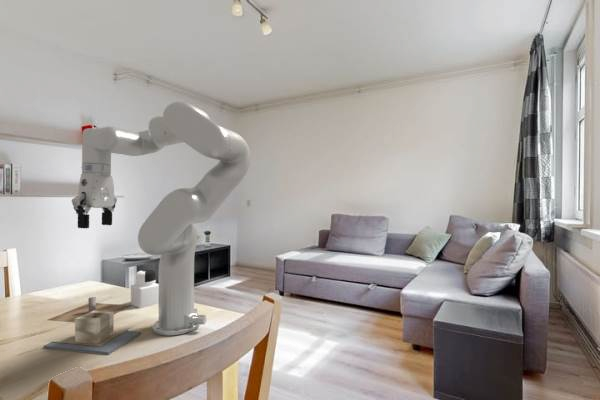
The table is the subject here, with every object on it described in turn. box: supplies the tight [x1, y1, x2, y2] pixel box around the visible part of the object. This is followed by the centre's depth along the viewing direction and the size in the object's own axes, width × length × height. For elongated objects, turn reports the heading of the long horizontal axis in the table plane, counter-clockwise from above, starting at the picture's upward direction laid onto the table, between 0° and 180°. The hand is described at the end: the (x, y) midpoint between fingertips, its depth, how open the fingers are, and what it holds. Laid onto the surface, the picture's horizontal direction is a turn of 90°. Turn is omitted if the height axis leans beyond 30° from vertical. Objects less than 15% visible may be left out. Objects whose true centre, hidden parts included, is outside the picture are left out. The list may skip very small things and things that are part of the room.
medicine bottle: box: [130, 269, 159, 309], centre depth 113 cm, size 7×7×12 cm
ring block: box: [74, 311, 115, 344], centre depth 86 cm, size 6×6×6 cm
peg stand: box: [47, 296, 133, 323], centre depth 104 cm, size 16×16×5 cm
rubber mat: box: [43, 330, 142, 355], centre depth 86 cm, size 18×12×1 cm, turn 80°
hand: (95, 226), depth 101 cm, fingers open, 9 cm apart
